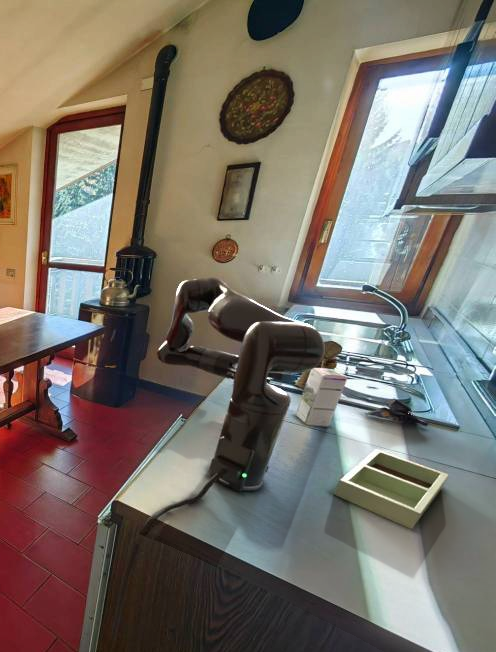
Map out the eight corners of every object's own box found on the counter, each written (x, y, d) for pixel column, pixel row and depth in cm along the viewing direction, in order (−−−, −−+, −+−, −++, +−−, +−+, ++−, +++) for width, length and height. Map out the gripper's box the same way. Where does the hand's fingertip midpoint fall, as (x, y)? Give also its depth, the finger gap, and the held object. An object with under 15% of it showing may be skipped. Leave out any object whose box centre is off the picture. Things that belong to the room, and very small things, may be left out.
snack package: (366, 406, 115) (360, 417, 108) (379, 388, 112) (375, 398, 105) (419, 427, 108) (418, 440, 101) (436, 408, 105) (435, 420, 98)
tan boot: (293, 391, 125) (313, 337, 118) (297, 380, 134) (315, 329, 127) (329, 399, 119) (351, 343, 112) (330, 387, 129) (351, 334, 122)
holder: (411, 529, 69) (420, 513, 67) (333, 494, 77) (339, 479, 76) (441, 488, 79) (449, 474, 78) (369, 462, 88) (375, 448, 87)
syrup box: (329, 427, 103) (350, 376, 97) (304, 424, 104) (323, 374, 99) (317, 417, 108) (336, 368, 103) (293, 415, 109) (311, 367, 104)
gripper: (209, 355, 119) (268, 372, 106) (233, 348, 126) (291, 363, 113) (204, 378, 122) (260, 396, 109) (227, 370, 129) (283, 386, 116)
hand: (276, 379), depth 111 cm, fingers open, 8 cm apart
